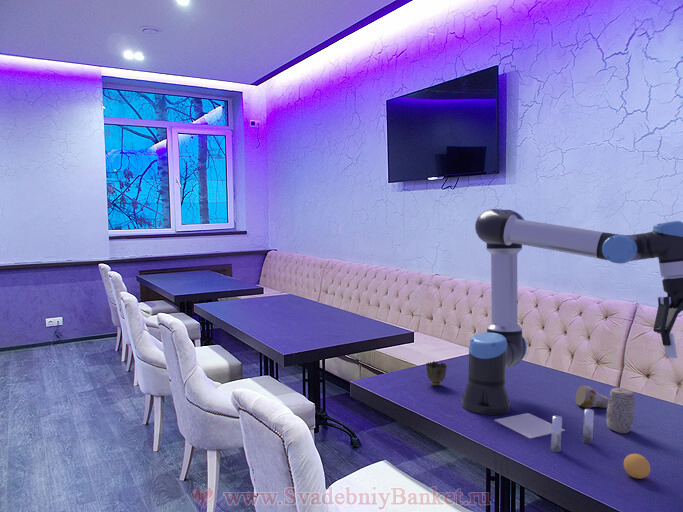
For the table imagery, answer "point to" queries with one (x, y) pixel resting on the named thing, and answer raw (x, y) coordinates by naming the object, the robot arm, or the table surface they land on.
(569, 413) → the table surface
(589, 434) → the post
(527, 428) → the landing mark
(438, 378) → the cup
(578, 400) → the mug
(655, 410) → the table surface
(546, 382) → the table surface
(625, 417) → the carving
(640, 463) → the ball
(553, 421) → the post
